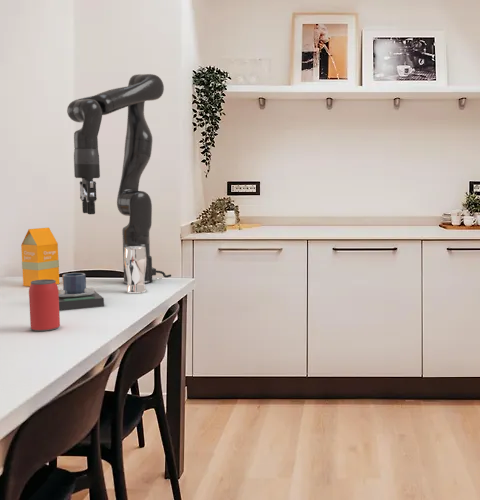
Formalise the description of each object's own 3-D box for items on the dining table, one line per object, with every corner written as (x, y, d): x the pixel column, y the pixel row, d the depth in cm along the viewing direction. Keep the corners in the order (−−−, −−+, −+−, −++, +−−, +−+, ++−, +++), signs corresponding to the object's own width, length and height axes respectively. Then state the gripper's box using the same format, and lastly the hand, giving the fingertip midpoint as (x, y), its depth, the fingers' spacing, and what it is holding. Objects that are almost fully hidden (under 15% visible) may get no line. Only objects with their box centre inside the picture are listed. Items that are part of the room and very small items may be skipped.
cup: (83, 288, 188) (83, 272, 187) (87, 291, 182) (87, 275, 182) (61, 290, 184) (61, 274, 184) (65, 293, 179) (64, 276, 179)
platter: (91, 289, 191) (91, 286, 191) (98, 294, 182) (97, 292, 182) (52, 292, 185) (52, 289, 185) (57, 298, 176) (57, 295, 176)
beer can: (51, 324, 157) (48, 278, 156) (65, 328, 153) (63, 280, 152) (25, 329, 152) (22, 281, 150) (39, 333, 148) (37, 284, 147)
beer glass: (151, 290, 206) (150, 246, 205) (138, 294, 200) (136, 248, 198) (134, 289, 208) (133, 245, 207) (120, 292, 202) (119, 247, 200)
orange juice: (22, 285, 214) (19, 228, 212) (44, 282, 222) (41, 227, 220) (39, 287, 211) (36, 229, 209) (60, 283, 219) (57, 227, 217)
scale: (94, 298, 193) (93, 289, 192) (104, 306, 180) (103, 296, 180) (48, 302, 186) (48, 293, 185) (55, 311, 173) (55, 301, 173)
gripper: (103, 163, 193) (105, 214, 194) (95, 163, 205) (96, 212, 206) (78, 162, 189) (80, 215, 190) (70, 163, 201) (72, 212, 202)
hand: (88, 213), depth 198 cm, fingers open, 8 cm apart
